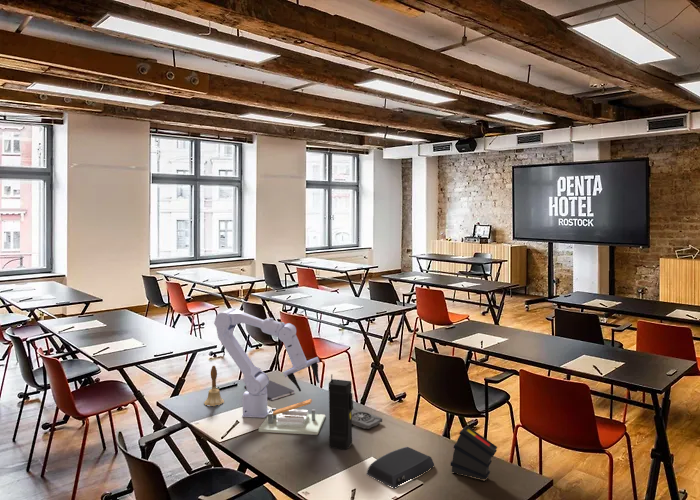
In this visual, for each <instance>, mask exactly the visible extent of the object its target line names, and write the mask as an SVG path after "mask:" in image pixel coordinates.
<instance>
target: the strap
mask: <svg viewBox="0 0 700 500" xmlns="http://www.w3.org/2000/svg"><path fill="white" fill-rule="evenodd" d="M312 402H313V400H312V398H309V399H307V400H304V401H299V402H298V403H294V404H291V405H288V406H284V407H281V408H277V409H276V410H275V411H274V410H272V409H271V411H270V412H271V413H273V415H277V414H280V413H283V412H286V411H289V410H292V409H295V410H297V408H301V407H305V406H308V405H311V403H312Z"/></svg>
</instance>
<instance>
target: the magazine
mask: <svg viewBox="0 0 700 500" xmlns="http://www.w3.org/2000/svg"><path fill="white" fill-rule="evenodd" d="M497 448H498V446H497V445H495V444H494V443H492V442H491V441H490V440H488V439H487V438H485V437H484V436H483V435H481V434H479V433H478V432H477V431H475V430H474V429H472V428H471V427H470V426H469V425H465V426H464V427H463V428H462V429H461V430H460V432H459V436H458V438H457V439H456V442H455V443H454V445H453V449H454V451H453V453H452V454H453V455H452V460H451V461H450V467H451V473H452V472H454V473H458V474H463V475H467V476H472V477H476V478H480V479H486V478H487V477H488V478H489V475H490V474H491V471H490V469H489V468H490V466H491V464H492V460H491V459H492V458H493V457H494V456H495V454H496V453H497Z"/></svg>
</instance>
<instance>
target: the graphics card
mask: <svg viewBox="0 0 700 500" xmlns="http://www.w3.org/2000/svg"><path fill="white" fill-rule="evenodd" d="M382 422H383V417H380V416H378V415H375V414H373V413H370V412H367V411H364V410H361V409H358V408H356V407H355V408H354V407H353V410H352V426H356V427H359V428H360V429H364V430H365V429H371V428H373V427H376V426H378V425H379V424H380V423H382Z"/></svg>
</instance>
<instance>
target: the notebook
mask: <svg viewBox="0 0 700 500" xmlns="http://www.w3.org/2000/svg"><path fill="white" fill-rule="evenodd" d="M243 387H244V389H245V390H247V389H246V385H244V386H243ZM266 388H267V400H269V401H274V400H277V399H280V398H283V397H287V396H290V395H293V394H294V393H295V390H293V389H291V388H289V387H287V386H284V385H282V384H280V383H277V382H275V381H272V380H270V379H269V384H268V385H267V386H266Z"/></svg>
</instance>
